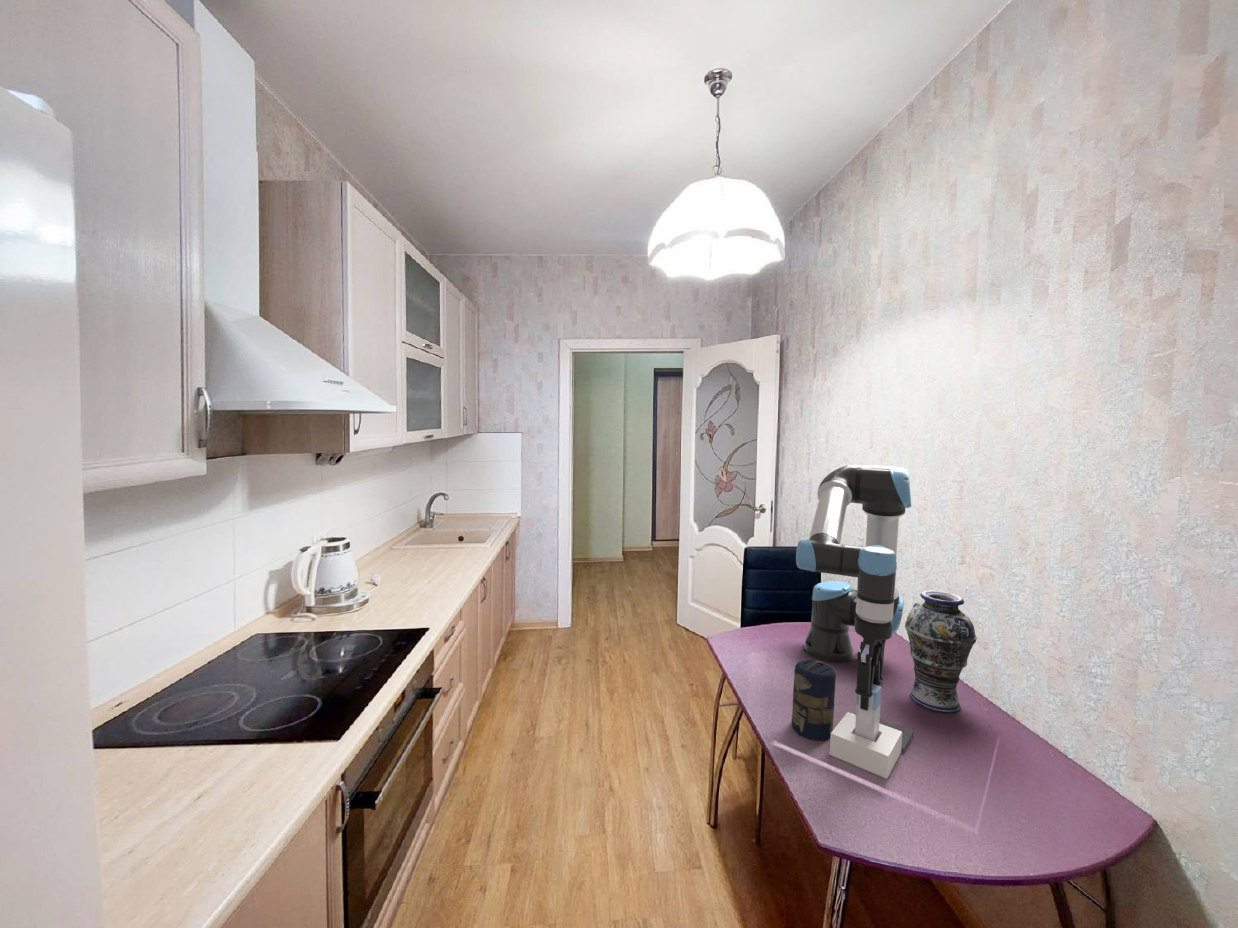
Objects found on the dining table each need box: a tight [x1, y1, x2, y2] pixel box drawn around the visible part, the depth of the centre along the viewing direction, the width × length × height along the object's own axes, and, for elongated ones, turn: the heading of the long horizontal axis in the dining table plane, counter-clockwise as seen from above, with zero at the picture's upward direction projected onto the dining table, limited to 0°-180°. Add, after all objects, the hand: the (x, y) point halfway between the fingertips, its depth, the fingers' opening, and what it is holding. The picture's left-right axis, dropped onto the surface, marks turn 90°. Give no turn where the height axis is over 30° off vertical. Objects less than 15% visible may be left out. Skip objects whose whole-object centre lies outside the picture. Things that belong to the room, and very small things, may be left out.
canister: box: [791, 658, 837, 742], centre depth 128 cm, size 10×10×18 cm
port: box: [828, 711, 902, 780], centre depth 119 cm, size 12×12×6 cm
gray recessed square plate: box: [879, 718, 914, 754], centre depth 127 cm, size 9×9×2 cm
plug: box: [855, 684, 883, 742], centre depth 119 cm, size 4×4×14 cm
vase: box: [904, 590, 978, 714], centre depth 143 cm, size 17×17×30 cm
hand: (867, 717), depth 119 cm, fingers closed on plug, 4 cm apart
